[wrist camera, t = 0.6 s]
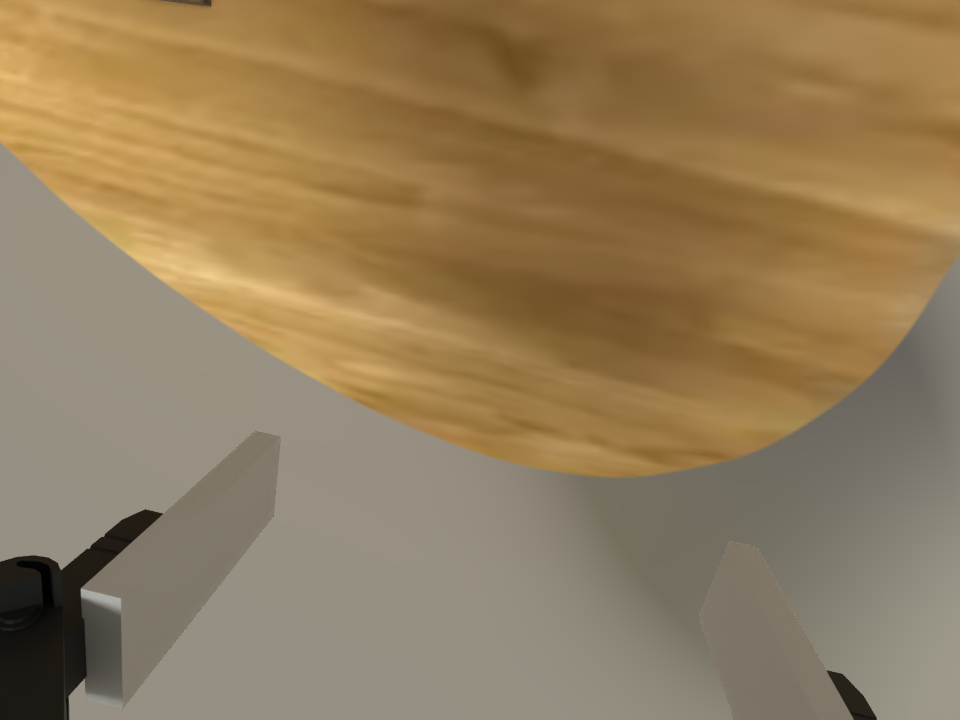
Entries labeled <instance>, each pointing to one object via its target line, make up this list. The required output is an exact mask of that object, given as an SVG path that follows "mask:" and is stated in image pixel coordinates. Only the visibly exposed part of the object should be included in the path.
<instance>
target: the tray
mask: <svg viewBox="0 0 960 720" xmlns="http://www.w3.org/2000/svg"><path fill="white" fill-rule="evenodd" d="M164 1H172V2H180V3H188V4H196V5H204V6H210V0H164Z"/></svg>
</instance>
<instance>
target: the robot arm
mask: <svg viewBox="0 0 960 720" xmlns="http://www.w3.org/2000/svg"><path fill="white" fill-rule="evenodd" d="M280 439H281V437H279V436H275V435H271V434H267V433H262V432H258V431H255V432H254V433H252V434H251V435H250V436H249V437H248V438H247V439H246V440H245V441H244V442H242V443H241V444H240V445H239V446H238V447H237V448H236V449H235V450H234V451H233V452H232V453H230V454H229V455H228V456H227V457H226V458H225V459H224V460H223V461H221V462H220V463H219V464H218V465H217V466H216V467H215V468H214V469H213V470H211V471H210V472H209V473H208V474H207V475H206V476H205V477H204V478H203V479H202V480H201V481H199V482H198V483H197V484H196V485H195V486H194V487H193V488H192V489H190V490H189V491H188V492H187V493H186V494H185V495H184V496H183V497H182V498H181V499H179V500H178V501H177V502H176V503H175V504H174V505H173V506H172V507H170V508H169V509H168V510H167V511H166V512H165V513H164V514H162V513H158V512H154V511H150V510H146V509H145V510H143V511H141V512H138V513H136V514H134V515H132V516H130V517H128V518H125V519H123V520H121V521H120V522H119V523H118V524H116V525H115V526H114V527H113V528H112V529H110V530H109V531H108V532H107V533H106V534H105V536H104V537H101V538H100V539H98V540H97V541H96V542H95V543H94V544H92V545H91V548H90V549H86V550H85V551H84V552H83V553H82V554H80V555H79V556H78V557H77V558H76V559H74V560H73V561H72V562H71V563H69V564H68V565H67V566H66V567H65V568H63V569H62V570H60V568H59V565H58V563H57V562H55V561H53V560H52V559H50V558H47V557H41V556H23V557H16V558H12V559H8V560H5V561H1V562H0V720H69V697H68V696H69V695H70V694H71V693H72V692H73V690H74V689H75V688H76V687H77V686H78V685H79V684H80V683H81V682H82V681H83V679H84V678H85V689H86V690H85V692H86V700H90V701H94V702H98V703H102V704H106V705H110V706H114V707H118V708H122V709H123V708H124V707H125V705H126V704H127V703H128V702H129V700H130V699H131V698H132V696H133V695H134V694H135V693H136V691H137V690H138V688H139V687H140V686H141V685H142V684H143V682H144V681H145V680H146V679H147V677H148V676H149V675H150V673H151V672H152V671H153V670H154V668H155V667H156V666H157V665H158V663H159V662H160V661H161V659H162V658H163V657H164V655H165V654H166V653H167V652H168V650H169V649H170V648H171V646H172V645H173V644H174V643H175V642H176V640H177V639H178V637H179V636H180V635H181V634H182V633H183V631H184V630H185V629H186V627H187V626H188V625H189V624H190V622H191V621H192V620H193V619H194V617H195V616H196V614H197V613H198V612H199V611H200V610H201V608H202V607H203V606H204V604H205V603H206V602H207V601H208V599H209V598H210V597H211V596H212V594H213V593H214V592H215V590H216V589H217V588H218V586H219V585H220V584H221V582H222V581H223V580H224V579H225V578H226V576H227V575H228V574H229V572H230V571H231V570H232V569H233V567H234V566H235V565H236V564H237V562H238V561H239V560H240V558H241V557H242V556H243V554H244V553H245V552H246V551H247V549H248V548H249V547H250V546H251V544H252V543H253V542H254V541H255V539H256V538H257V537H258V535H259V534H260V533H261V532H262V530H263V529H264V528H265V527H266V525H267V524H268V523H269V521H270V520H271V519H272V517H273V516H274V506H275V495H276V484H277V471H278V460H279V450H280ZM699 619H700V622H701V625H702V628H703V631H704V634H705V637H706V640H707V643H708V646H709V648H710V651H711V654H712V657H713V660H714V663H715V666H716V669H717V672H718V675H719V678H720V681H721V683H722V686H723V689H724V692H725V695H726V698H727V701H728V704H729V707H730V709H731V713H732V715H733V719H734V720H877V718H876V716H875V714H874V713H873V711H872V709H871V708H870V706H869V704H868V703H867V701H866V699H865V698H864V696H863V695H862V694H861V693H860V692H859V691H858V690H857V689H856V688H855V687H854V685H852V684H851V682H850V681H849V680H848V679H846V677H845V676H844V675H843V674H840V673H836V672H832V671H827V670H826V669H825V667H824V666H823V664H822V662H821V660H820V658H819V657H818V655H817V653H816V651H815V650H814V648H813V646H812V644H811V642H810V641H809V639H808V637H807V635H806V634H805V632H804V630H803V628H802V626H801V625H800V623H799V621H798V619H797V618H796V616H795V614H794V612H793V610H792V609H791V607H790V605H789V603H788V601H787V600H786V598H785V596H784V594H783V593H782V591H781V589H780V587H779V586H778V584H777V582H776V580H775V578H774V577H773V575H772V573H771V571H770V569H769V568H768V566H767V564H766V562H765V560H764V559H763V557H762V555H761V553H760V551H759V550H758V548H757V547H756V546H752V545H747V544H743V543H738V542H734V541H729V544H728V546H727V549H726V551H725V553H724V556H723V558H722V561H721V563H720V566H719V568H718V570H717V573H716V575H715V578H714V580H713V583H712V585H711V588H710V590H709V593H708V595H707V598H706V600H705V602H704V605H703V607H702V610H701V612H700V614H699Z"/></svg>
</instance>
